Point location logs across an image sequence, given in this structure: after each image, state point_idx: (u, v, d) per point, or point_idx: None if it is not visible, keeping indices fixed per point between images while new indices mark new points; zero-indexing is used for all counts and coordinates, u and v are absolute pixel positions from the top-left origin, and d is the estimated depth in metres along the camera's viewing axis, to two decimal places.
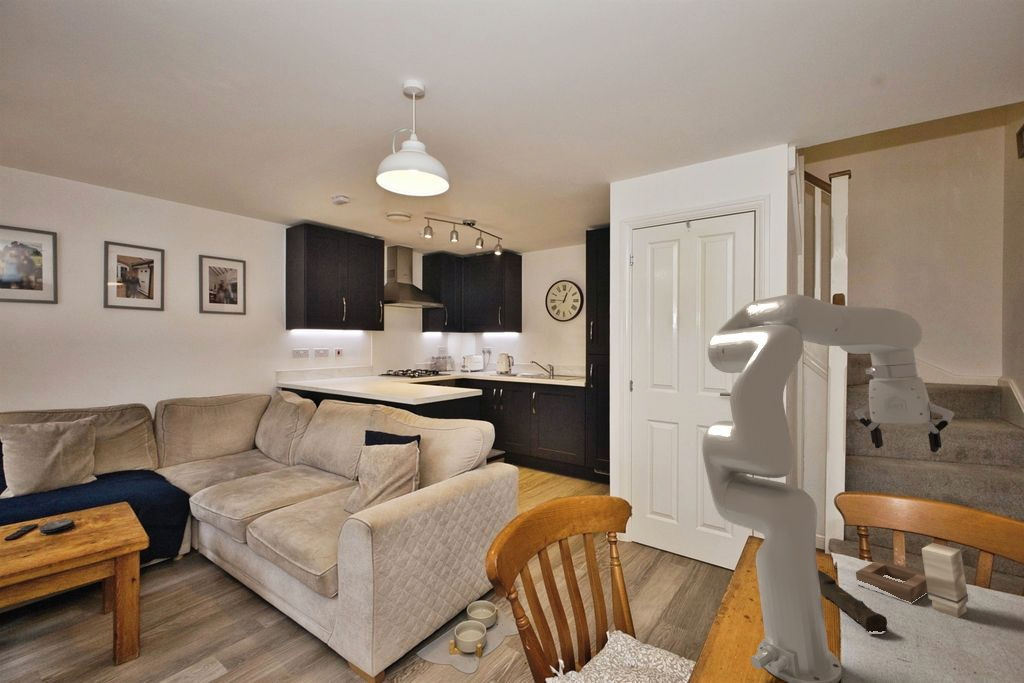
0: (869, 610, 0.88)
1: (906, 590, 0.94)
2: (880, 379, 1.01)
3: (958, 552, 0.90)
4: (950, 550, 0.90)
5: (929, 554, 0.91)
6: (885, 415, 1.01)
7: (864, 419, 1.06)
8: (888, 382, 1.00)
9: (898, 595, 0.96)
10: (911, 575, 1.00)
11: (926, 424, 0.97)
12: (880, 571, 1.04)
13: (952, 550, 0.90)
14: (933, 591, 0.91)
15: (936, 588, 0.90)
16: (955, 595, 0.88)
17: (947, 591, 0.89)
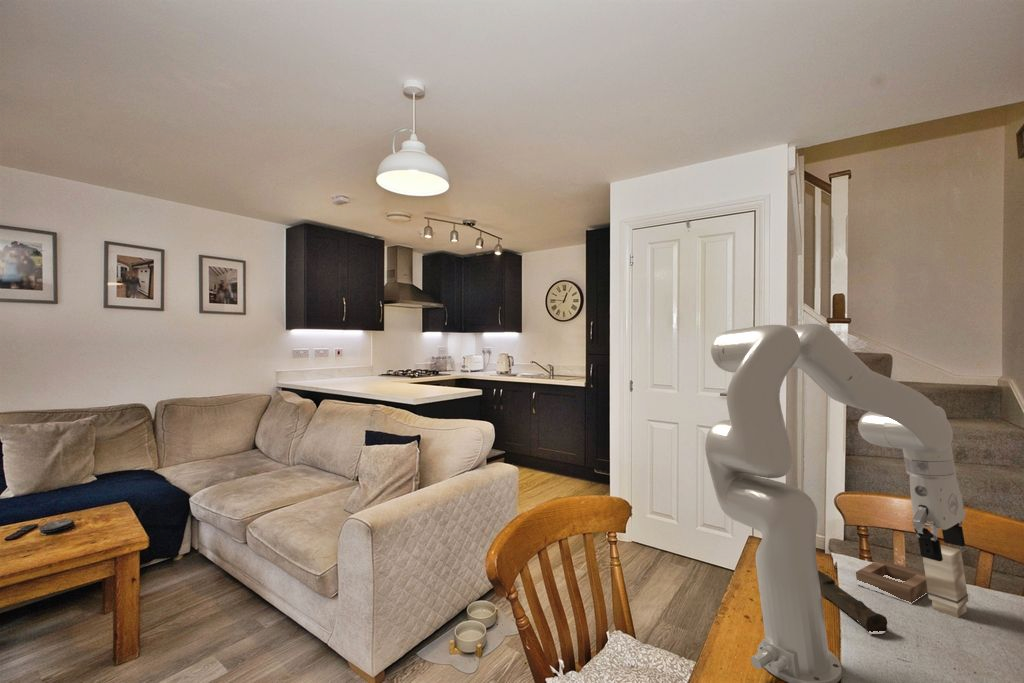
0: (869, 610, 0.88)
1: (906, 590, 0.94)
2: (946, 476, 0.88)
3: (958, 552, 0.90)
4: (950, 550, 0.90)
5: None
6: (950, 518, 0.88)
7: (926, 529, 0.88)
8: (946, 478, 0.89)
9: (898, 595, 0.96)
10: (911, 575, 1.00)
11: None
12: (880, 571, 1.04)
13: (952, 550, 0.90)
14: (933, 591, 0.91)
15: (936, 588, 0.90)
16: (955, 595, 0.88)
17: (947, 591, 0.89)
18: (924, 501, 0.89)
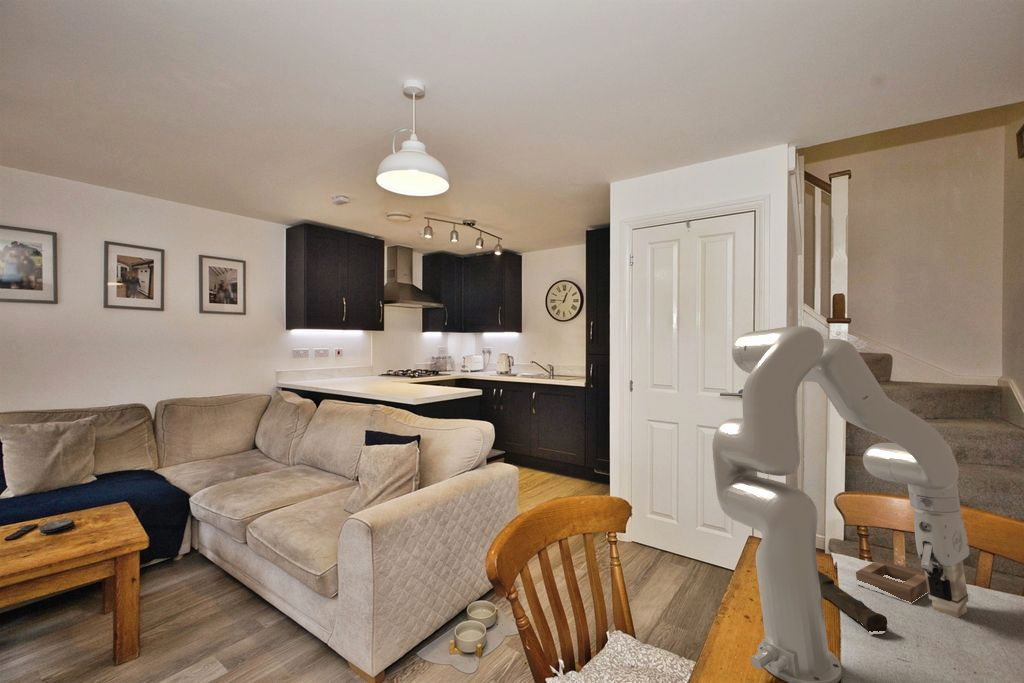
0: (869, 610, 0.88)
1: (906, 590, 0.94)
2: (951, 513, 0.88)
3: None
4: None
5: None
6: (954, 555, 0.88)
7: (936, 568, 0.88)
8: (951, 515, 0.89)
9: (898, 595, 0.96)
10: (911, 575, 1.00)
11: None
12: (880, 571, 1.04)
13: None
14: None
15: None
16: (955, 595, 0.88)
17: None
18: (928, 537, 0.89)
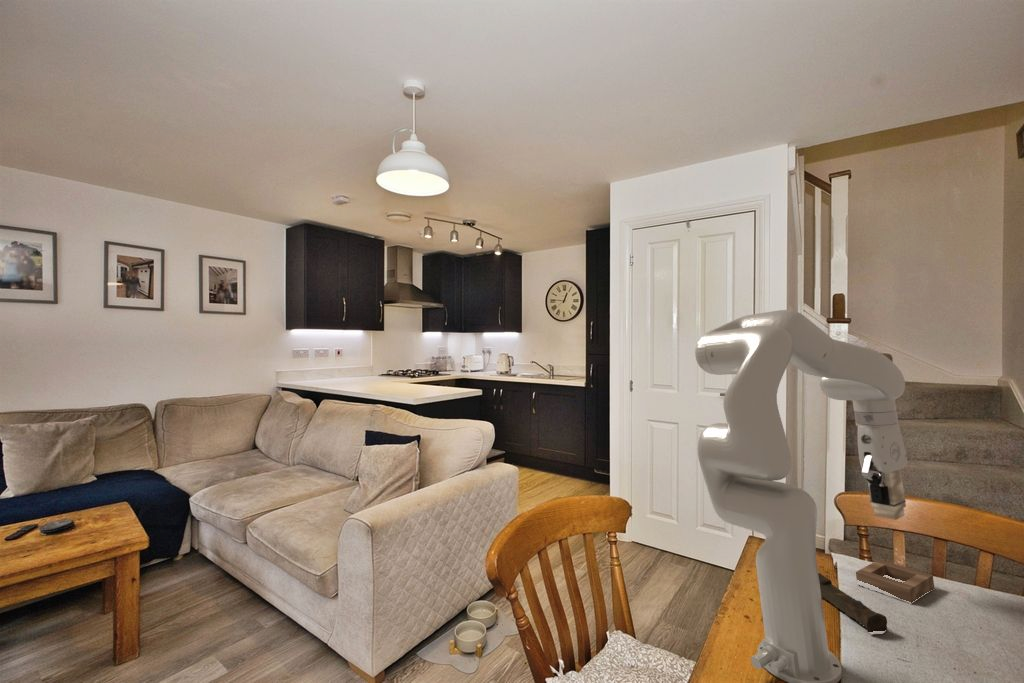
0: (869, 610, 0.88)
1: (906, 590, 0.94)
2: (889, 426, 0.98)
3: None
4: None
5: None
6: (891, 463, 0.97)
7: (875, 476, 0.98)
8: (889, 428, 0.99)
9: (898, 595, 0.96)
10: (911, 575, 1.00)
11: None
12: (880, 571, 1.04)
13: None
14: None
15: None
16: (892, 499, 0.98)
17: None
18: (868, 448, 0.99)
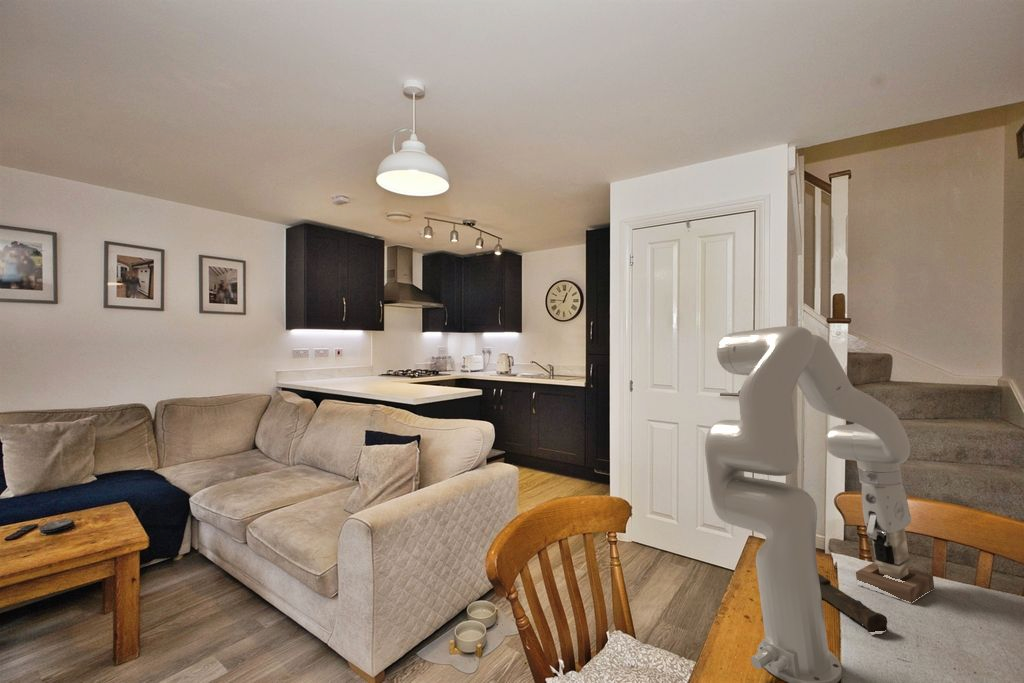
0: (869, 610, 0.88)
1: (906, 590, 0.94)
2: (893, 486, 0.98)
3: None
4: None
5: None
6: (896, 523, 0.98)
7: None
8: (893, 487, 0.99)
9: (898, 595, 0.96)
10: (911, 575, 1.00)
11: None
12: None
13: None
14: None
15: None
16: (897, 559, 0.98)
17: None
18: (873, 508, 0.99)
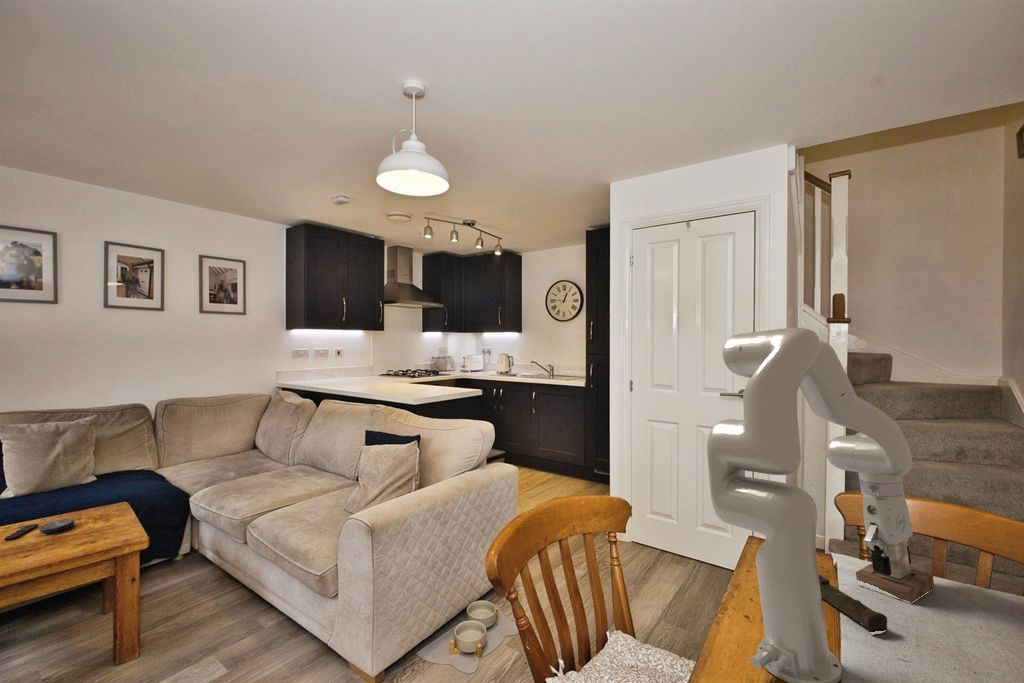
0: (869, 610, 0.88)
1: (906, 590, 0.94)
2: (894, 497, 0.98)
3: None
4: None
5: (876, 537, 1.01)
6: (897, 535, 0.98)
7: (877, 546, 0.98)
8: (895, 499, 0.99)
9: (898, 595, 0.96)
10: (911, 575, 1.00)
11: None
12: None
13: None
14: None
15: None
16: (898, 573, 0.98)
17: (892, 570, 0.99)
18: (874, 519, 0.99)
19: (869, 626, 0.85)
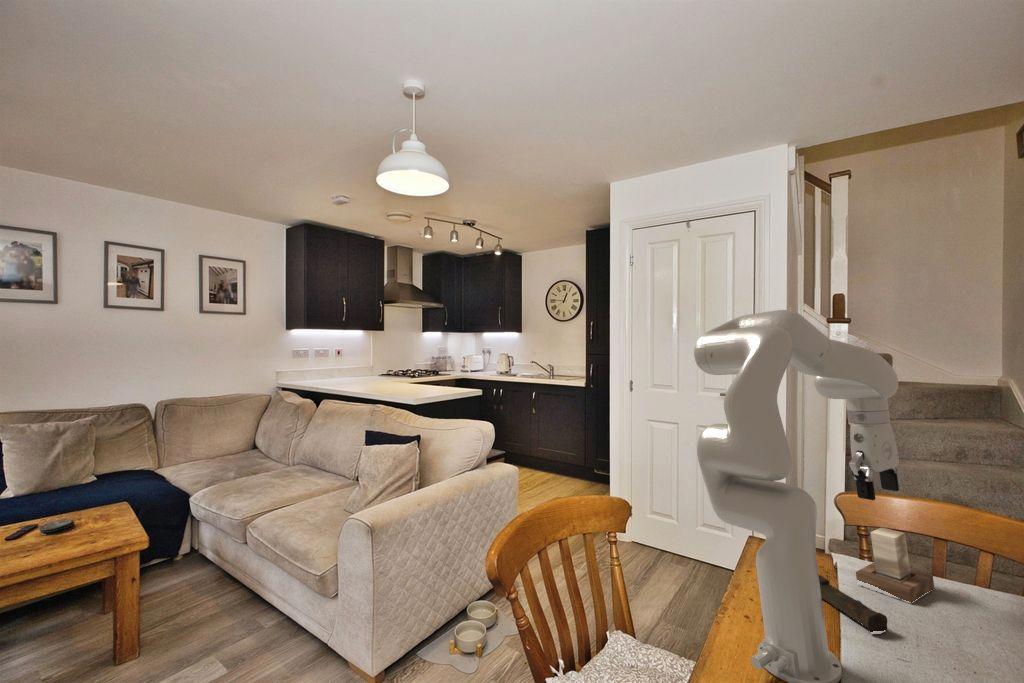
0: (869, 610, 0.88)
1: (906, 590, 0.94)
2: (881, 425, 0.99)
3: (902, 535, 0.99)
4: (895, 533, 1.00)
5: (876, 537, 1.01)
6: (883, 462, 0.98)
7: (861, 471, 0.98)
8: (881, 427, 1.00)
9: (898, 595, 0.96)
10: (911, 575, 1.00)
11: None
12: None
13: (897, 533, 1.00)
14: (880, 570, 1.01)
15: (883, 567, 1.00)
16: (898, 573, 0.98)
17: (892, 570, 0.99)
18: (861, 447, 1.00)
19: (869, 626, 0.85)
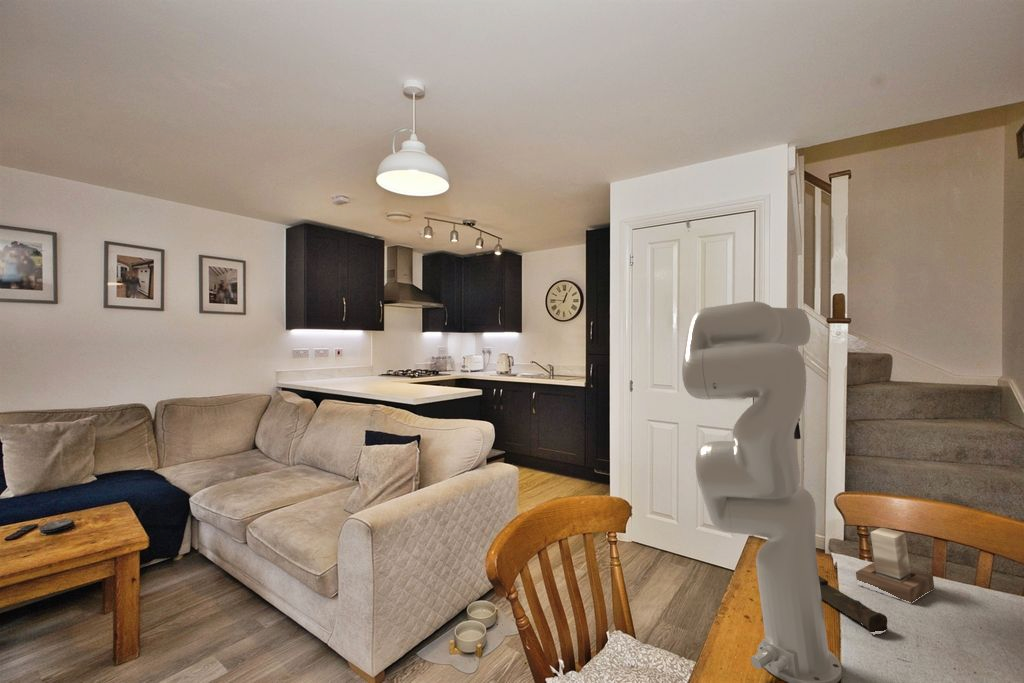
0: (869, 610, 0.88)
1: (906, 590, 0.94)
2: None
3: (902, 535, 0.99)
4: (895, 533, 1.00)
5: (876, 537, 1.01)
6: None
7: None
8: None
9: (898, 595, 0.96)
10: (911, 575, 1.00)
11: None
12: None
13: (897, 533, 1.00)
14: (880, 570, 1.01)
15: (883, 567, 1.00)
16: (898, 573, 0.98)
17: (892, 570, 0.99)
18: None
19: (870, 626, 0.85)
